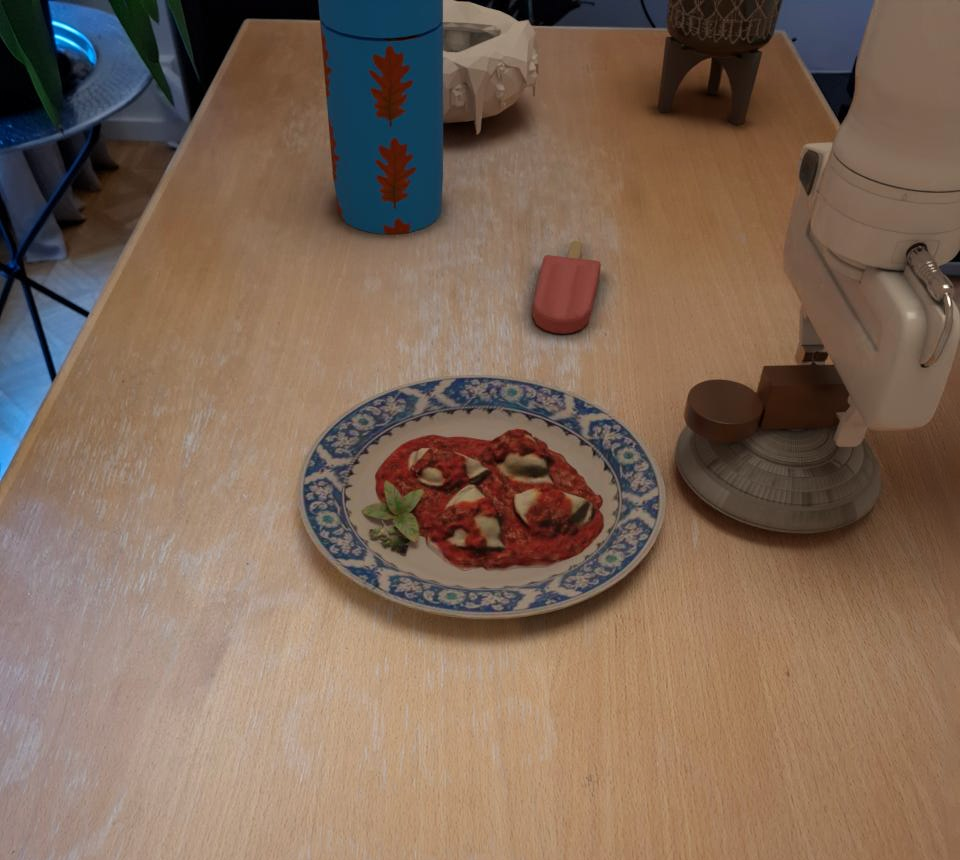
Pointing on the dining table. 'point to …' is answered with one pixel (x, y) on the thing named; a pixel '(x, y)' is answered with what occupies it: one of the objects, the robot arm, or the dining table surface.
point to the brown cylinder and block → (766, 402)
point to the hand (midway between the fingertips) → (825, 402)
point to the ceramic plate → (481, 496)
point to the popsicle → (565, 291)
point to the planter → (717, 46)
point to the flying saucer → (782, 478)
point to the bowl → (484, 61)
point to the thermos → (385, 110)
